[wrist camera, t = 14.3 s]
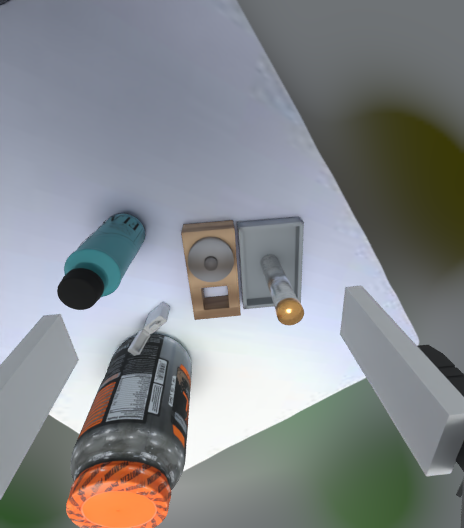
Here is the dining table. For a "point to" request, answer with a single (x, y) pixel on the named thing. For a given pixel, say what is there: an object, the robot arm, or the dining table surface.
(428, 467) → the robot arm
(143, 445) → the supplement tub
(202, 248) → the pulley block
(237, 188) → the dining table surface
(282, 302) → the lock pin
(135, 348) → the lighter
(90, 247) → the beverage bottle
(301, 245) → the tray
